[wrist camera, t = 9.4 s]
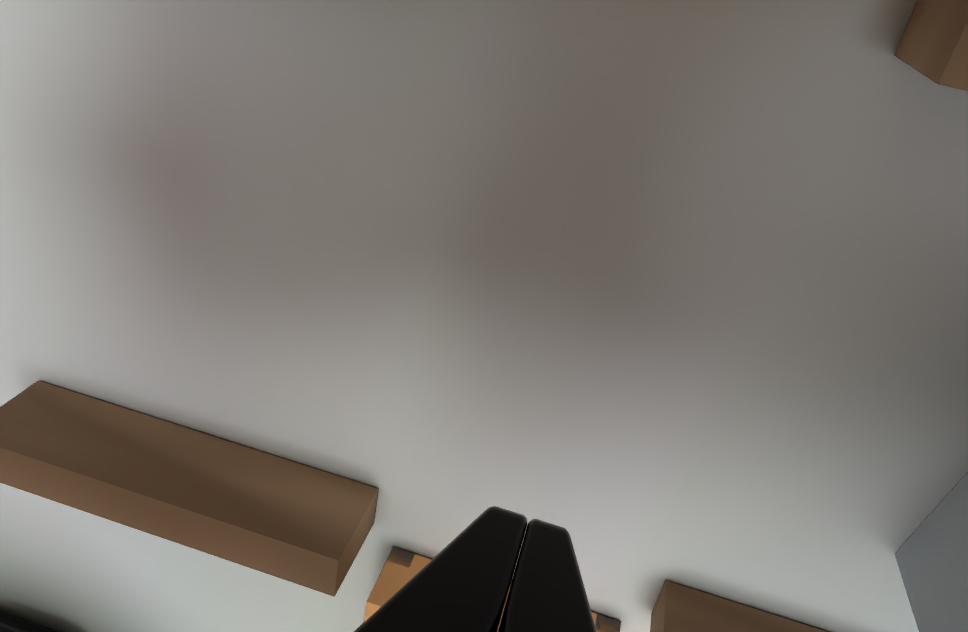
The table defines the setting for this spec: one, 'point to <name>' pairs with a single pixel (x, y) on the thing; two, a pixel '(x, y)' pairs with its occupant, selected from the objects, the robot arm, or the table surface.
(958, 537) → the slate block
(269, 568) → the finger box
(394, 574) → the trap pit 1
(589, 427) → the table surface
